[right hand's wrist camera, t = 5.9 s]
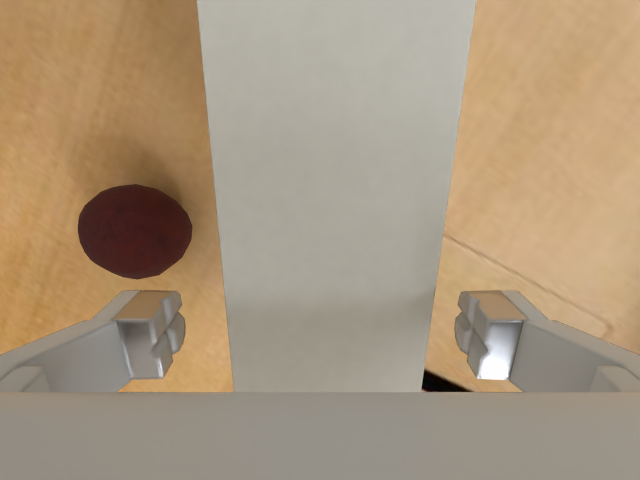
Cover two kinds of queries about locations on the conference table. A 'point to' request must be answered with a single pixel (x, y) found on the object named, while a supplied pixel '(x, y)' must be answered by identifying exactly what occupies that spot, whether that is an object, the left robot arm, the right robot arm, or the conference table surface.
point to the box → (332, 182)
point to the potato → (134, 231)
